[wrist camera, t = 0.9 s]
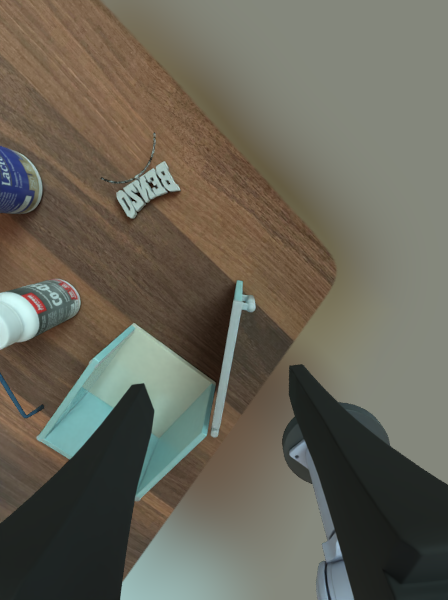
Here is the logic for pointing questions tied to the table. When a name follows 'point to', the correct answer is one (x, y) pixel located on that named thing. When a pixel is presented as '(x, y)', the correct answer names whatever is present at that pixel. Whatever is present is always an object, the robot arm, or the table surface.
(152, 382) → the turquoise open box
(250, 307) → the turquoise cabinet door
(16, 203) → the pill bottle
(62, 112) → the table surface
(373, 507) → the robot arm
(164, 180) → the necklace
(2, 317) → the pill bottle
